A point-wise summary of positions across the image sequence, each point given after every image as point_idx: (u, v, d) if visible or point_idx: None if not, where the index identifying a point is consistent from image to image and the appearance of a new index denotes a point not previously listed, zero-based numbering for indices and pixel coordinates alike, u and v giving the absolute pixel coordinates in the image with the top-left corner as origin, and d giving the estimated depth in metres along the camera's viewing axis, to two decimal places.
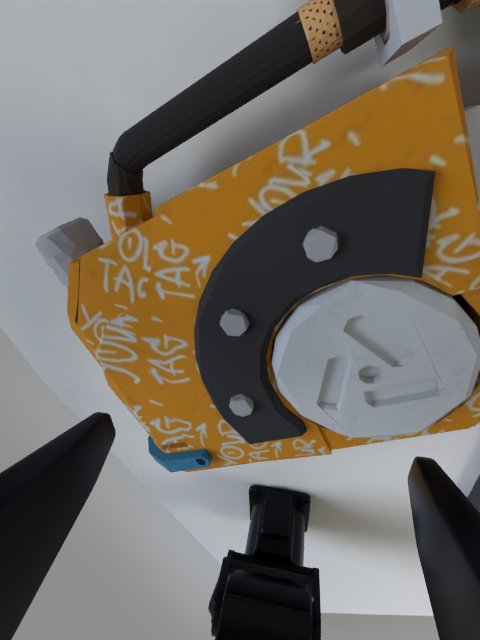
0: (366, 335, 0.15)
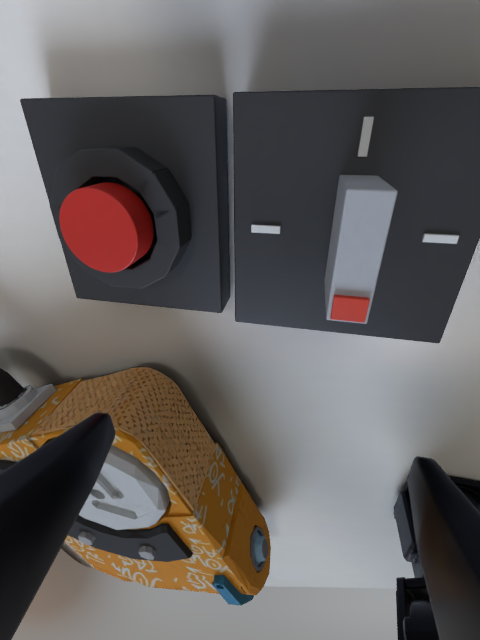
0: None
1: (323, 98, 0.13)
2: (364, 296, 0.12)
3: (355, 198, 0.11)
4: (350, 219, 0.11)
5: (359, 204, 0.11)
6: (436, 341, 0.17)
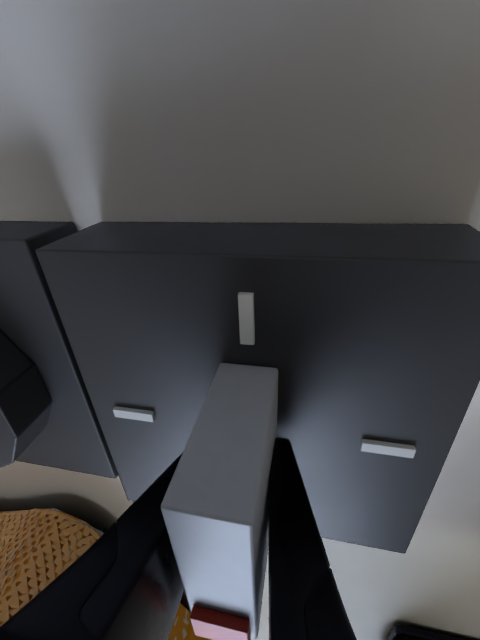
0: None
1: (170, 264, 0.08)
2: (242, 617, 0.07)
3: (179, 520, 0.05)
4: (182, 540, 0.06)
5: (189, 527, 0.06)
6: (400, 551, 0.12)
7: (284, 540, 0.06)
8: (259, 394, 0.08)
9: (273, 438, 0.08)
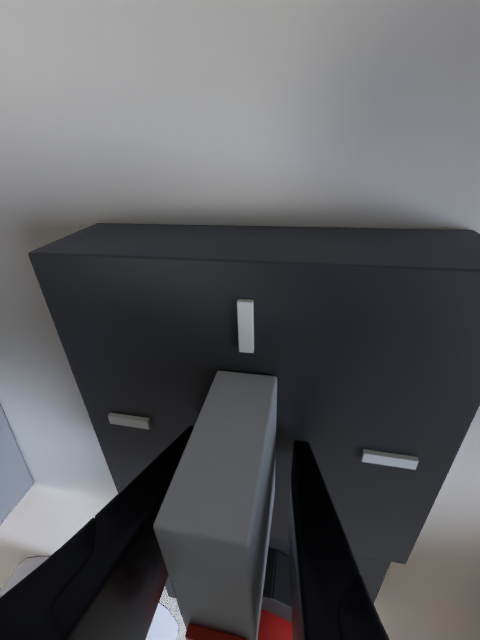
0: None
1: (107, 449, 0.12)
2: (239, 636, 0.07)
3: (173, 540, 0.05)
4: (176, 560, 0.06)
5: (183, 548, 0.05)
6: None
7: (311, 545, 0.06)
8: (257, 404, 0.07)
9: (272, 449, 0.08)
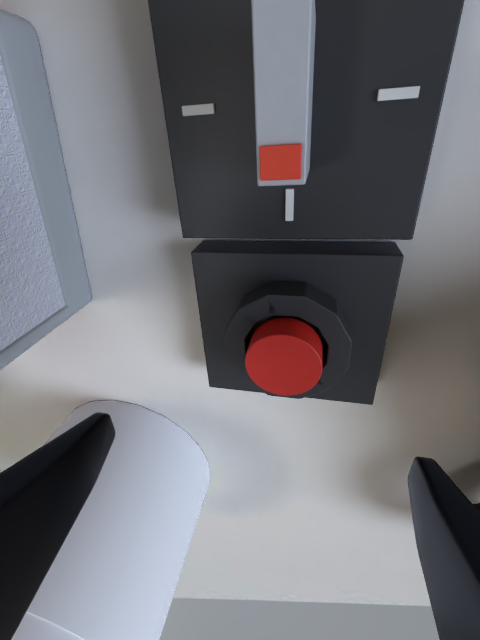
0: None
1: (176, 159, 0.15)
2: (296, 143, 0.10)
3: None
4: (262, 27, 0.09)
5: (269, 1, 0.08)
6: None
7: None
8: None
9: (313, 64, 0.11)
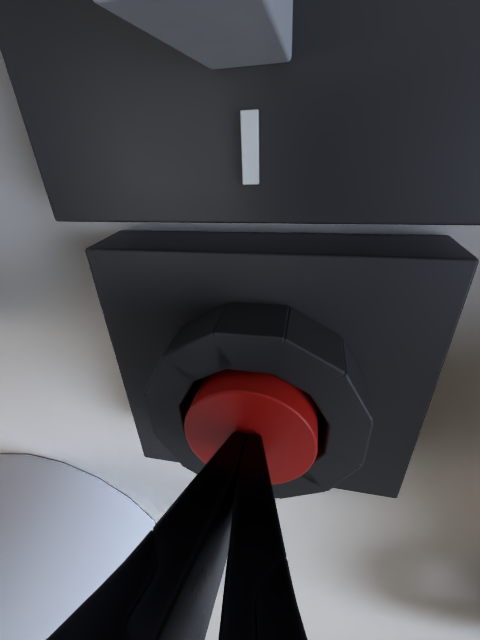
0: None
1: (9, 47, 0.07)
2: None
3: None
4: None
5: None
6: None
7: (245, 532, 0.06)
8: None
9: None
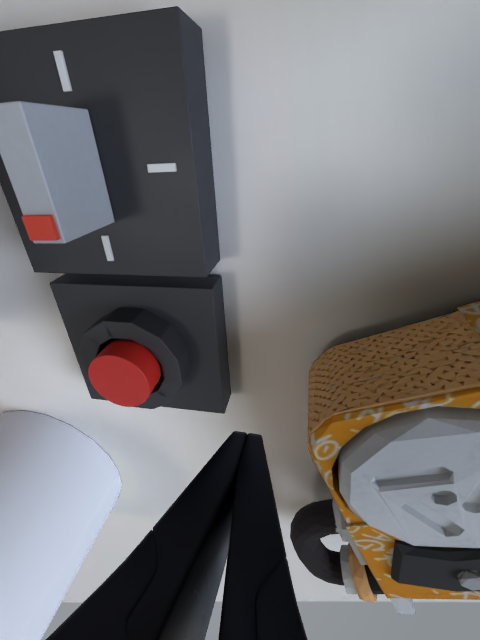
0: (439, 513, 0.17)
1: (14, 209, 0.18)
2: (49, 214, 0.13)
3: None
4: None
5: None
6: (175, 12, 0.12)
7: (245, 532, 0.06)
8: None
9: (83, 147, 0.14)
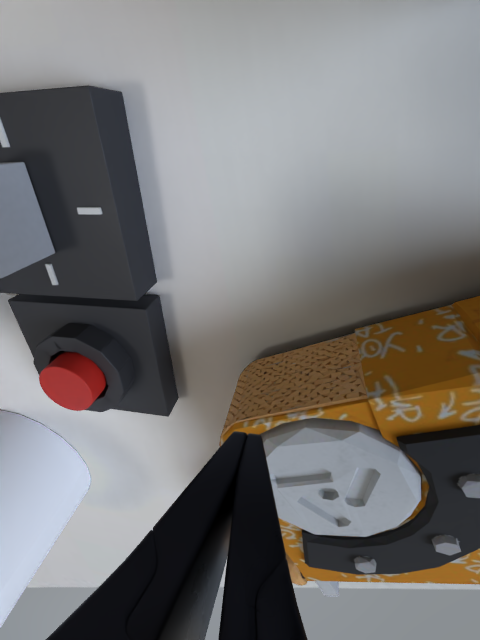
0: None
1: None
2: None
3: None
4: None
5: None
6: (87, 90, 0.15)
7: (245, 532, 0.06)
8: (2, 163, 0.16)
9: (20, 195, 0.17)
